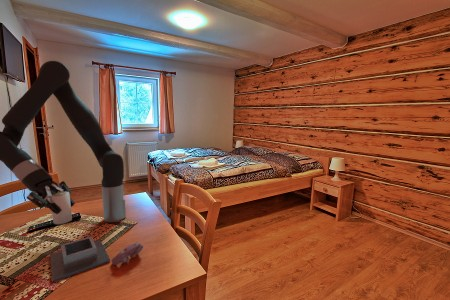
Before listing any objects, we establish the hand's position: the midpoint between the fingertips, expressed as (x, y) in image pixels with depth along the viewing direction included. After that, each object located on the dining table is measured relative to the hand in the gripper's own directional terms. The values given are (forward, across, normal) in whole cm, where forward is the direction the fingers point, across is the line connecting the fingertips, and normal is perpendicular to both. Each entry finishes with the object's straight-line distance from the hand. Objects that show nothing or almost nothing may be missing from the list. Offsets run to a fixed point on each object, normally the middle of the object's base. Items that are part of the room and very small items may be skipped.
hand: (66, 208), depth 81 cm
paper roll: (+2, 0, +5) cm, 5 cm away
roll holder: (+17, -4, +7) cm, 19 cm away
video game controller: (+29, -1, -4) cm, 29 cm away
